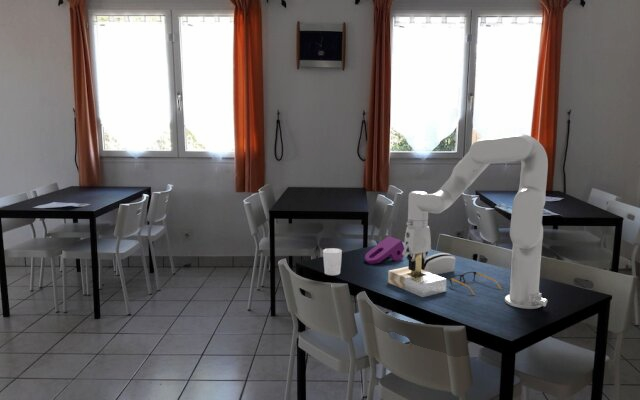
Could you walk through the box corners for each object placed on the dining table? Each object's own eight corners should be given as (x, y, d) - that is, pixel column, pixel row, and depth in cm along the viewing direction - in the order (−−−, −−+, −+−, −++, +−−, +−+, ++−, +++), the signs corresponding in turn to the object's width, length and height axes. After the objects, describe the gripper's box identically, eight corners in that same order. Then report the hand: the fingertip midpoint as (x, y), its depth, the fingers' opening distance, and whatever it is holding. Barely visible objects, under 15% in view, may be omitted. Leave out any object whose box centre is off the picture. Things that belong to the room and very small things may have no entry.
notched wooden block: (427, 284, 207) (428, 271, 206) (404, 289, 201) (404, 277, 200) (410, 277, 216) (411, 265, 215) (388, 282, 209) (388, 270, 209)
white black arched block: (445, 268, 228) (452, 249, 224) (452, 274, 225) (459, 255, 220) (415, 273, 220) (421, 254, 216) (422, 280, 217) (428, 260, 212)
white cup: (344, 274, 220) (344, 251, 218) (327, 277, 217) (327, 253, 216) (337, 269, 227) (337, 247, 226) (320, 271, 225) (320, 249, 223)
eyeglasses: (473, 280, 213) (474, 270, 213) (501, 290, 201) (502, 280, 200) (447, 285, 206) (447, 276, 206) (474, 296, 194) (475, 286, 193)
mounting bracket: (380, 277, 235) (407, 254, 243) (373, 262, 232) (401, 240, 240) (367, 272, 243) (393, 250, 251) (360, 257, 240) (388, 236, 247)
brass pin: (423, 279, 203) (424, 250, 201) (415, 281, 201) (416, 251, 199) (416, 277, 206) (417, 247, 204) (408, 278, 204) (409, 249, 202)
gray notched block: (446, 291, 199) (446, 278, 198) (422, 297, 193) (423, 284, 192) (427, 284, 207) (428, 271, 206) (404, 289, 201) (404, 277, 200)
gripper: (407, 227, 192) (406, 275, 196) (440, 222, 201) (438, 268, 204) (394, 224, 199) (393, 270, 202) (427, 219, 207) (425, 263, 211)
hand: (416, 268), depth 203 cm, fingers closed on brass pin, 4 cm apart
